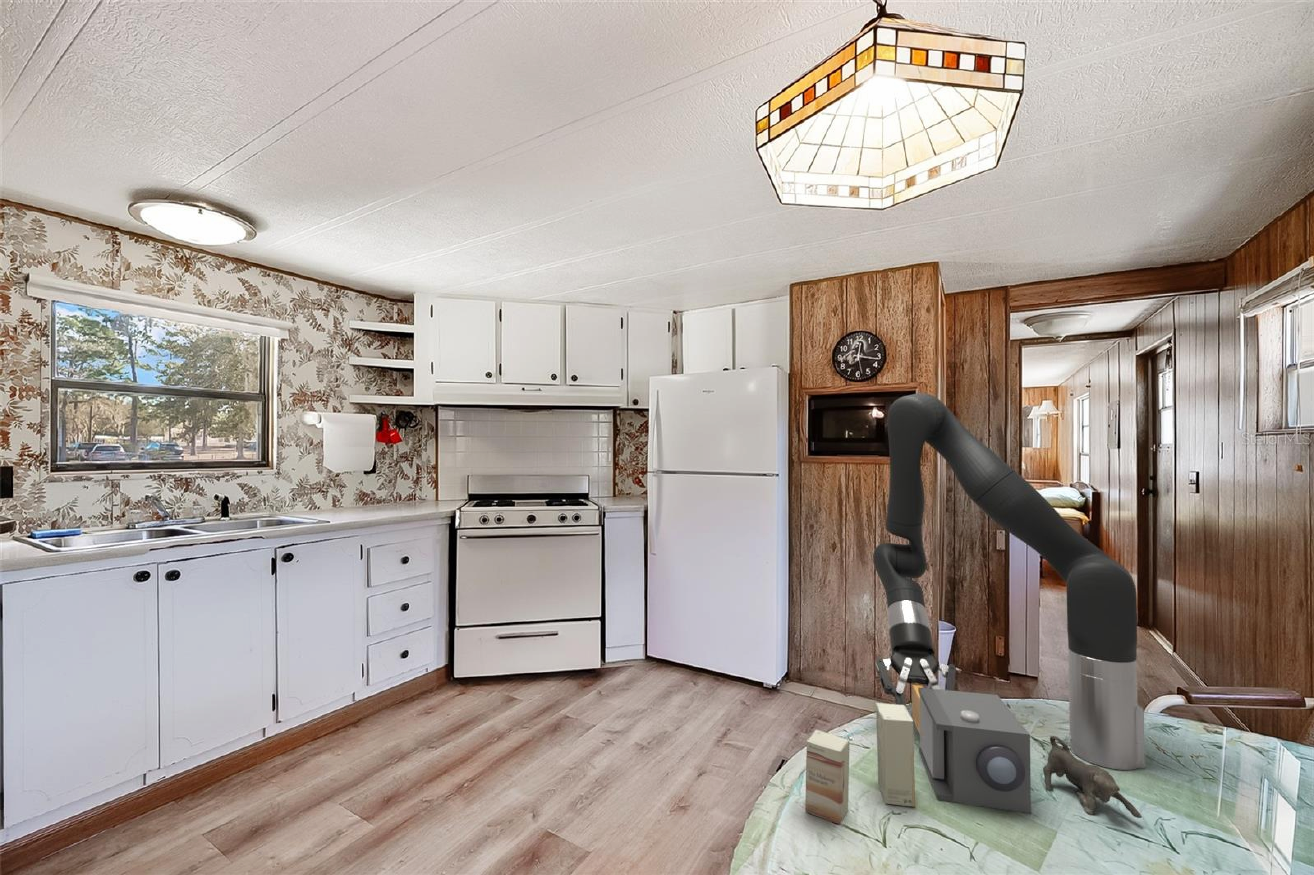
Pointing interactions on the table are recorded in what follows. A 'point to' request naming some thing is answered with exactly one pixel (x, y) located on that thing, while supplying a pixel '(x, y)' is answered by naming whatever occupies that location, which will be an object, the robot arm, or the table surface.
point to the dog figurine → (1083, 778)
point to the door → (928, 735)
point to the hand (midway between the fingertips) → (922, 719)
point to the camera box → (980, 750)
